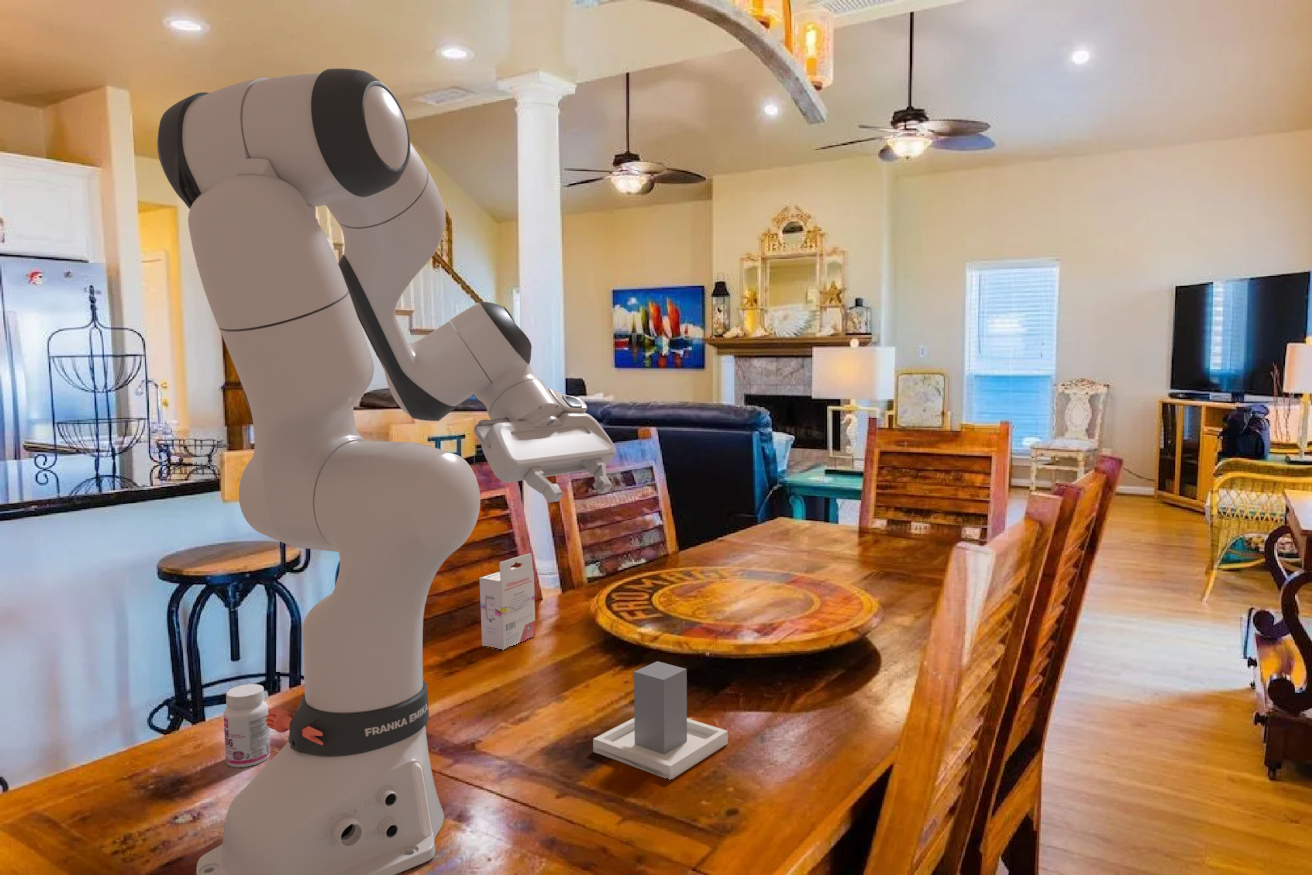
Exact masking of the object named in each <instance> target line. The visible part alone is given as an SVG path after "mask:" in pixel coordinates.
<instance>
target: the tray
mask: <svg viewBox="0 0 1312 875" xmlns="http://www.w3.org/2000/svg"><path fill="white" fill-rule="evenodd" d="M728 741H729V732H728V730H727V729H724V728H720V727H717V726H714V725H711V724H706V723H704V722H701V721H697V720H694V719H690V718H688V717H687V742H685V743H683V744H682V745H680V746H678V747H677V748H675V749H673V750H671V751H670V752H668V753H666V754H665V755H664V754H661V753H658V752H655V751H652V750H649V749H646V748H644V747H641V746H638V745H635V723H634V717H633V718H631V719H629V720H627V721H625V722H623V723H621V724H619V725H617V726H615V727H613V728H611V729H609V730H607V731H605V732H603V733H602V734H600V735H597V736H596V737H593V739H592V743H593V744H592V745H593V746H592V747H593V750H592V752H593V753H595V754H598V755H601V756H604V757H607V758H610V759H612V760H614V761H618V762H619V763H623V764H626V765H628V766H631V767H633V768H636V769H640V770H642V771H644V772H647V773H650V774H652V775H655V776H658V777H661V778H664V779H666V778H668V779H669V781H671V779H672V780H673V779H675V778H676V777H678V776H680V775H682V774H683V773H684V772H685V771H687V770H690V769H691V768H692V767H694V766H695V765H697V764H699V763H700V762H701V761H703V760H705V759H706V758H708V757H709V756H710V755H712V754H714V753H716V752H718V750H720V749H721V748H723V747H725V746H726V745H728V744H729V742H728ZM668 779H667V780H668Z"/></svg>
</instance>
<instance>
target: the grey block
mask: <svg viewBox="0 0 1312 875" xmlns="http://www.w3.org/2000/svg"><path fill="white" fill-rule="evenodd" d="M687 671H688V670H687V668H685V667H681V666H680V667H679V666H676V665H672V664H668V663H666V662H663V661H662V662H661V661H654V662H652V663H650V664H648V665H646V666H644V667H641V668H639V669H637V670H635V671H634V670H633V690H634V691H633V694H634V695H633V698H634V702H633V703H634V708H633V710H634V711H633V712H634V713H633V714H634V717H633V718H634V723H635V745H638V746H641V747H644V748H646V749H649V750H652V751H655V752H658V753H661V754H664V755H665V754H666V753H668V752H670V751H671V750H673V749H675V748H677V747H678V746H680V745H682V744H683V743H685V742H687V718H688V715H687V714H688V707H687V706H688V698H687V697H688V695H687V694H688V691H687V690H688V688H687V687H688V684H687V683H688V678H687V677H688V675H687V673H688V672H687Z"/></svg>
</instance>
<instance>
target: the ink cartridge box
mask: <svg viewBox="0 0 1312 875" xmlns="http://www.w3.org/2000/svg"><path fill="white" fill-rule="evenodd" d="M516 563H517V564H521V566H519V567H515V566H514V565H515V564H516ZM498 564H499V565H498V566H499V571H497V572H495V573H491V574H487V575H484V576H482V577H481V576H480V577H479V578H478V579H479V594H480V595H479V598H480V600H479V601H480V622H481V623H480V624H481V628H480V629H481V646H482V647H484V646H490V647H495V648H498V649H497V650H499V649H502V650H501V651H505V650H504V649H506V648H507V647H509V646H513V645H515V646H516V644H517V645H519V644H521V643H520V642H522V643H524V642H526V641H528V640H530V639H529V638H531V637H533V638H535V637H536V607H535V606H536V605H535V603H536V602H535V571H534V567H533V566H534V565H533V556H532V553H531V552H529V553H526V554H522V555H519V556H516V557H512V558H509V559H505V560H502V561H500V562H499V563H498ZM513 566H514V567H513ZM534 636H535V637H534ZM527 639H528V640H527ZM531 639H532V638H531ZM525 640H526V641H525ZM523 641H524V642H523ZM518 643H519V644H518ZM513 647H514V646H513ZM506 650H507V649H506Z"/></svg>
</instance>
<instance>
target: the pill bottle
mask: <svg viewBox="0 0 1312 875" xmlns="http://www.w3.org/2000/svg"><path fill="white" fill-rule="evenodd" d="M225 697H226V698H225V701H226V706H227V707H226V708H225V709H224V711H223V727H224V728H223V729H224V745H225V746H224V747H225V749H224V750H225V762H226V764H227V765H228V766H230V767H233V768H240V767H241V768H248V766H249V767H252V765H253V766H256V765H258V764H261V763H262V762H265V761H266V760H267V759H268V758H270V755H271V741H270V740H271V738H270V735H271V734H270V728H269V726H267V725H266V724H267V723H266V722H265V720H266V719H268V718H265V717H266V715H268V714H270V713H268V712H269V705H268V703H267V702H266V701H265V688H264V686H263V685H261V684H257V683H256V684H255V683H248V684H243V685H237V686H234V687H232V688H230V689H229V690H227V691H226V694H225Z"/></svg>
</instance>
